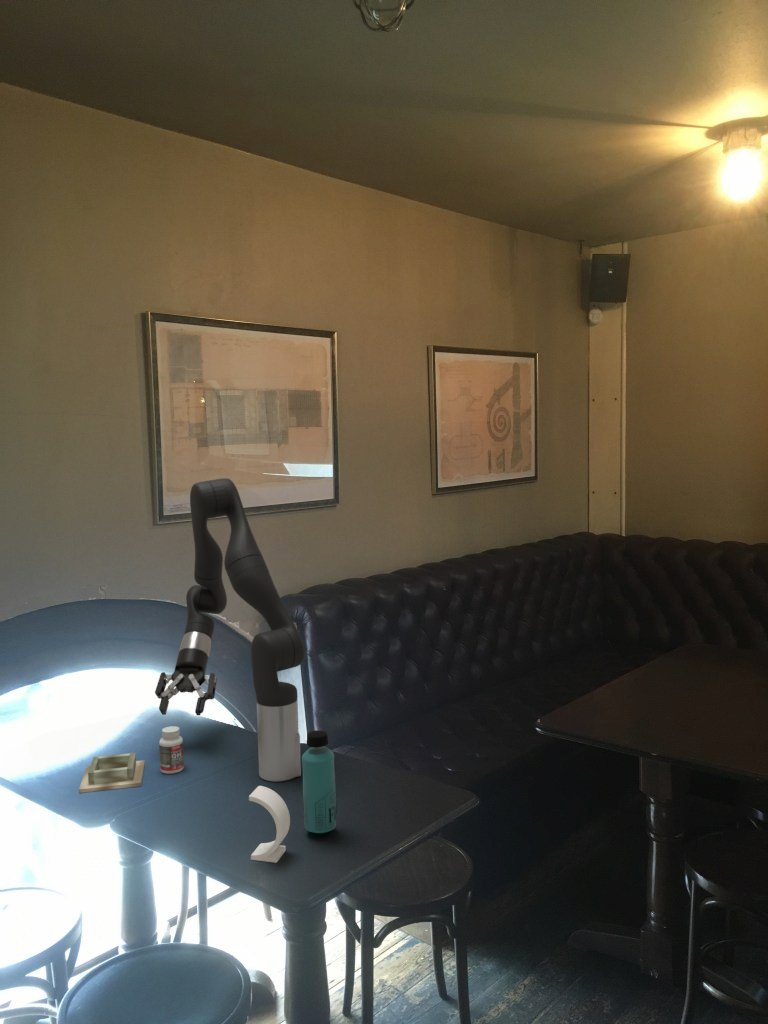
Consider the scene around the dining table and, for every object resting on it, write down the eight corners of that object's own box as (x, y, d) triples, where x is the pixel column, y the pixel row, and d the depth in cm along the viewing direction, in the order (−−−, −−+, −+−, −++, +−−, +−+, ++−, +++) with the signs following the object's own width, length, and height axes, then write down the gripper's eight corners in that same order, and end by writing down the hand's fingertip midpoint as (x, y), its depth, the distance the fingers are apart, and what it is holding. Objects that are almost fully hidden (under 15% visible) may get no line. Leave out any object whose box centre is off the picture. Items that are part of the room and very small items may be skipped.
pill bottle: (176, 775, 185) (174, 734, 184) (155, 773, 186) (153, 732, 185) (188, 766, 190) (186, 726, 189) (168, 764, 192) (166, 723, 191)
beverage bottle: (332, 842, 153) (329, 740, 151) (298, 839, 154) (295, 738, 152) (341, 826, 159) (338, 727, 157) (308, 823, 160) (306, 725, 159)
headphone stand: (260, 847, 152) (258, 785, 150) (291, 850, 150) (289, 788, 149) (250, 859, 147) (248, 796, 146) (281, 863, 146) (280, 799, 145)
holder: (144, 763, 192) (144, 749, 192) (141, 786, 179) (140, 770, 179) (87, 769, 189) (86, 754, 189) (79, 792, 177) (78, 777, 176)
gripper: (162, 646, 202) (146, 706, 192) (217, 646, 201) (205, 707, 190) (170, 661, 208) (156, 720, 197) (224, 661, 206) (213, 721, 196)
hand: (180, 713), depth 194 cm, fingers open, 8 cm apart
